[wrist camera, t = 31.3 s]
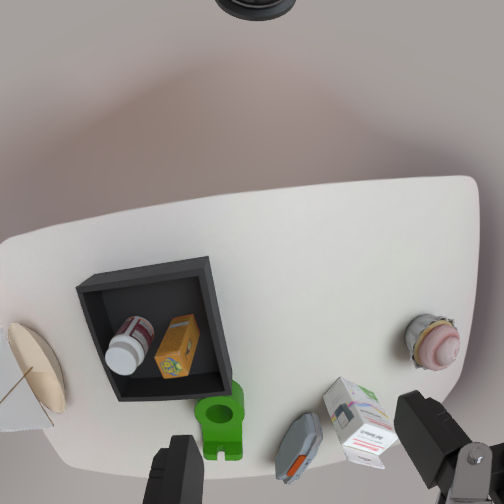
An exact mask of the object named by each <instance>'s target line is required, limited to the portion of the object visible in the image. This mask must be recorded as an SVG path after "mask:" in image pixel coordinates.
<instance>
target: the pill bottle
mask: <svg viewBox="0 0 504 504" xmlns="http://www.w3.org/2000/svg"><path fill="white" fill-rule="evenodd" d="M153 338H154V329H153V327H152V325H151V324H150V322H149V321H147V320H146V319H144V318H142V317H139V316H132V317H129V318H128V319H126V320H125V322H124V323H123V324H122V326H121V327H120V328H119V330H118V331H117V333H116V334H115V335H114V337H113V338H112V339H111V341H110V344H109V349H108V350H107V352H106V355H105V359H106V363H107V365H108V366H109V367H110V369H111V370H113V371H114V372H116V373H118V374H120V375H130V374H132V373H133V372H134V371H135V370H136V368H137V366H139V365H140V364H141V363H142V362H143V360H144V358H145V356H146V353H147V351H148V349H149V347H150V345H151V343H152V341H153Z"/></svg>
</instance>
